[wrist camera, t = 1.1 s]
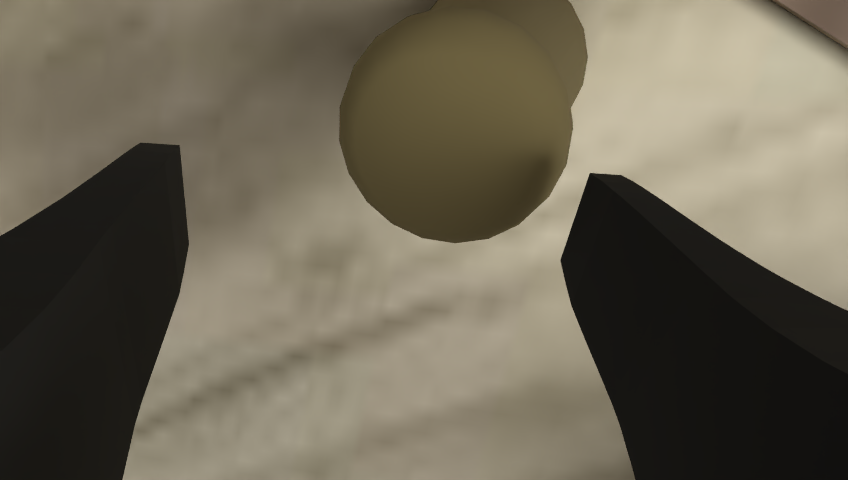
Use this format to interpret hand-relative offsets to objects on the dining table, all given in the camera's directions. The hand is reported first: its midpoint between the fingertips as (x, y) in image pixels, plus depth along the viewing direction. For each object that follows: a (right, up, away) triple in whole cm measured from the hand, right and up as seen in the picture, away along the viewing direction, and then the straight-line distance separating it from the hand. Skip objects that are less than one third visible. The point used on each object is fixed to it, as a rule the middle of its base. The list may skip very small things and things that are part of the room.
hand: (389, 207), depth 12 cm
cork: (+3, +6, +11) cm, 13 cm away
